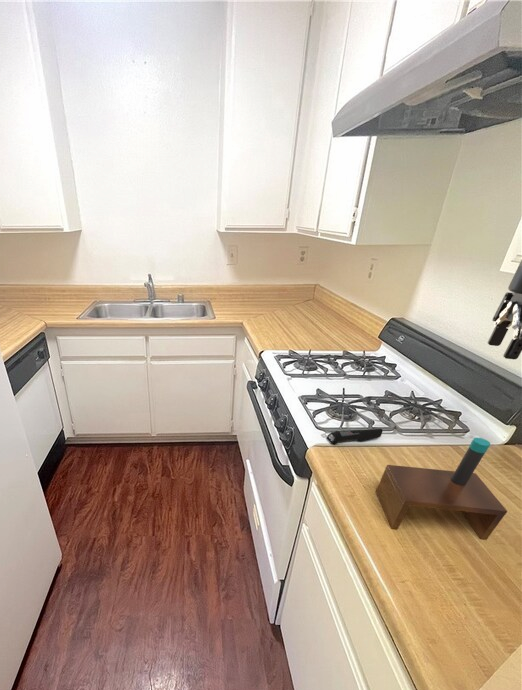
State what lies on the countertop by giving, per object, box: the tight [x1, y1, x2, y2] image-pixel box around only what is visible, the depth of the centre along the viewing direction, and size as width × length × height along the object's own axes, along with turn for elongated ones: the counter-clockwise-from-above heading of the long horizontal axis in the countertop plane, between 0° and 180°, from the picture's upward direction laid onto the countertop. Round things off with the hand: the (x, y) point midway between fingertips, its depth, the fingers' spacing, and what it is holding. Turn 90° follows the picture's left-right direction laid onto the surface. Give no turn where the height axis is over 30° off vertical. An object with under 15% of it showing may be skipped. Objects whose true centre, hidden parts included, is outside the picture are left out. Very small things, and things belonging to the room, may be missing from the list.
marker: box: [451, 437, 491, 486], centre depth 68 cm, size 3×3×10 cm
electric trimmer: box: [326, 428, 383, 445], centre depth 96 cm, size 4×16×3 cm, turn 100°
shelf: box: [375, 464, 508, 541], centre depth 71 cm, size 18×11×8 cm, turn 82°
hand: (500, 351), depth 72 cm, fingers open, 8 cm apart
